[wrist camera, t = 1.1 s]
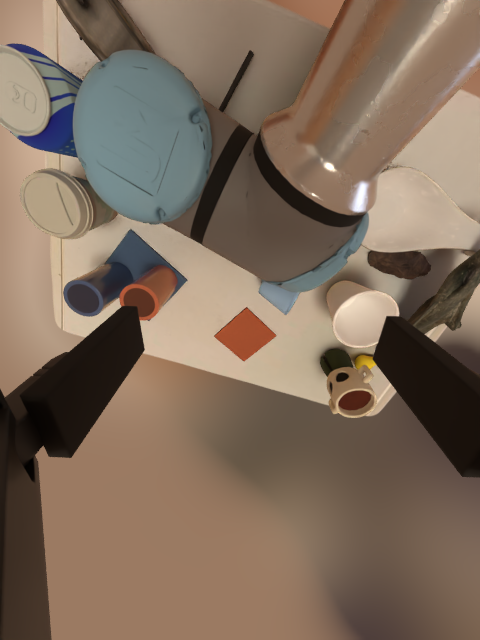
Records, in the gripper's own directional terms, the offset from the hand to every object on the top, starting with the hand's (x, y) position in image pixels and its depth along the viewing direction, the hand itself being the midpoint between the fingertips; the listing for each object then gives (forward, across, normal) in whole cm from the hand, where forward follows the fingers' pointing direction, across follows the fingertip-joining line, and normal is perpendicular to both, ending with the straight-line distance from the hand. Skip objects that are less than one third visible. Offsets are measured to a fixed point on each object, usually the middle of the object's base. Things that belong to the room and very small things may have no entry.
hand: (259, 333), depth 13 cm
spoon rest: (+34, +27, +4) cm, 43 cm away
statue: (+33, +30, -24) cm, 50 cm away
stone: (+32, +27, 0) cm, 42 cm away
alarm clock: (+34, -17, +23) cm, 44 cm away
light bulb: (+34, +26, -23) cm, 48 cm away
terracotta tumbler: (+34, -17, -8) cm, 39 cm away
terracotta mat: (+34, 0, -20) cm, 40 cm away
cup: (+34, +18, -10) cm, 40 cm away
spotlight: (+34, +5, -8) cm, 35 cm away
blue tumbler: (+34, -25, -8) cm, 43 cm away
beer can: (+34, -23, +15) cm, 44 cm away
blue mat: (+34, -21, -8) cm, 41 cm away
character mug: (+34, +19, -25) cm, 46 cm away
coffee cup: (+34, -26, +5) cm, 43 cm away
